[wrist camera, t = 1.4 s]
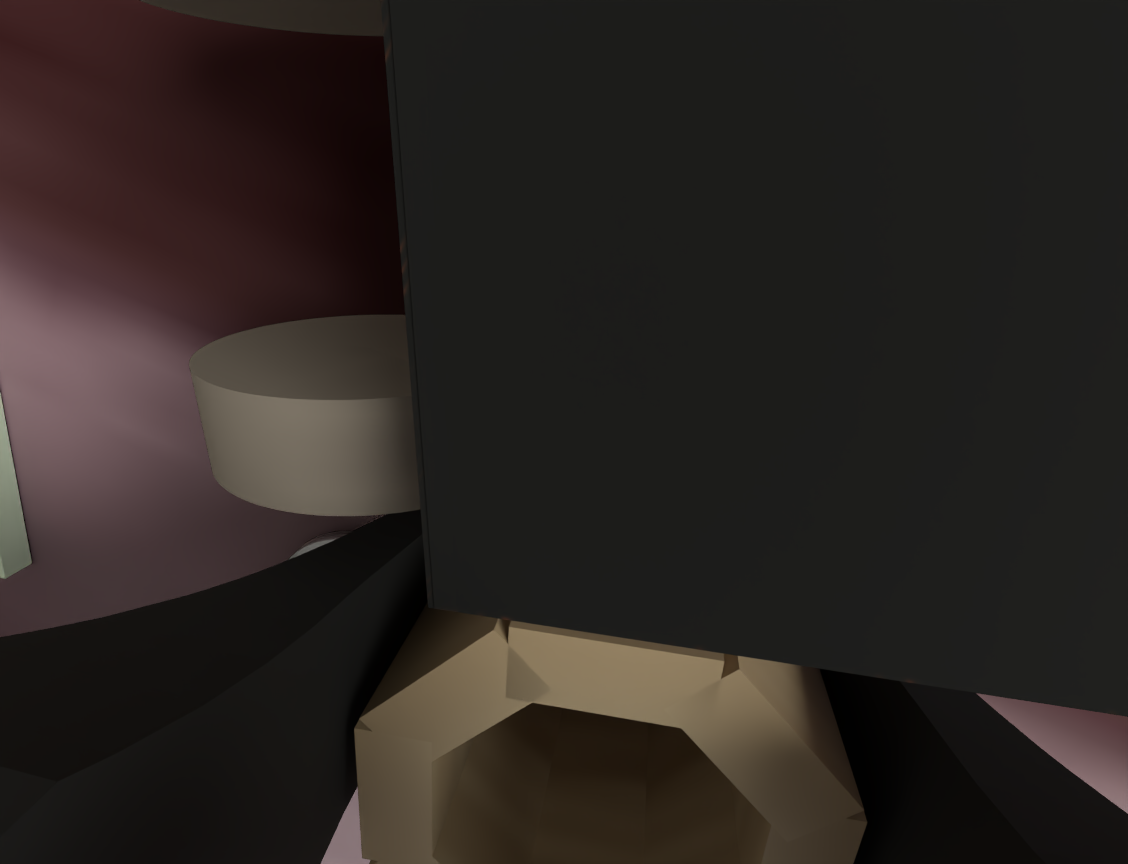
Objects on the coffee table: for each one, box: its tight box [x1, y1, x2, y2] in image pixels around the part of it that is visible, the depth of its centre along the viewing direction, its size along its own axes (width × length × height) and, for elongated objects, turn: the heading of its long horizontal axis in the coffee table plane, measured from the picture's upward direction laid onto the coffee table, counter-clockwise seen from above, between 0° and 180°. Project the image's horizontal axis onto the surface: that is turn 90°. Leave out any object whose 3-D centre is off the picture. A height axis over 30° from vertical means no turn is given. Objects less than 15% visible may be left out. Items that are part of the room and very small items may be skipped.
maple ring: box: [354, 602, 867, 864], centre depth 10 cm, size 6×6×5 cm
